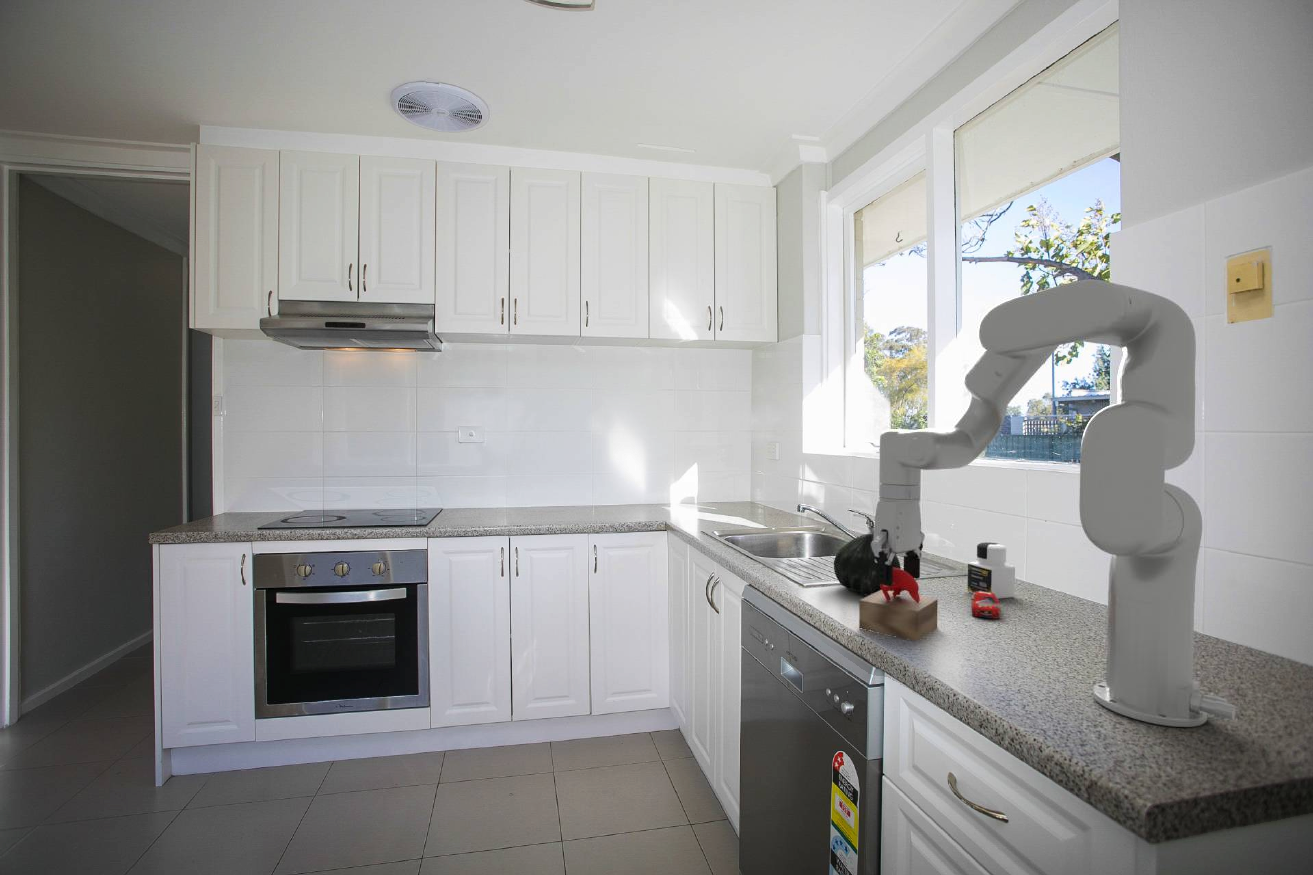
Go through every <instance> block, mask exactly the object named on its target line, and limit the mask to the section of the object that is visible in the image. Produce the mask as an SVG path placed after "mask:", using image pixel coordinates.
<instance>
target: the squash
mask: <svg viewBox="0 0 1313 875" xmlns="http://www.w3.org/2000/svg"><path fill="white" fill-rule="evenodd" d="M873 539H874V533H866V534H863V535H859V536H857V537H855V538H853V539H851V540H850V541H848V542H847V543H846V544H844V545H843V546H841V547H840V549H839V550H838V551H837V553H836V555H835V557H834V559H833V571H834V574H835V577H836V579H837V581H838V582H839V584H840V585H841V586H843V587H845V589H848V590H853V591H855V592H861V594H863V595H865V596H866V597H867V596H869V595H871V594H873V593H875V592H878V591H880V590H882V589H881V587H880V584H878V583H877V582H876V563H875V558H874V556H873V550H872V547H871V542H872V541H873ZM884 554H885V555H886V557H887V556H888V554H887V553H884ZM891 565H893V567H895V568H899V569H902V568H901V562H900V560H899V558H898V555H897V554H895V555H894V557H893V560H892V562H891ZM890 591H893V590H890Z"/></svg>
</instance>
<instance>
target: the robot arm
mask: <svg viewBox="0 0 1313 875" xmlns="http://www.w3.org/2000/svg"><path fill="white" fill-rule="evenodd" d="M977 328H978V329H977V339H978V341H979V344H980V345H981V347H982V348H984V350H983V351H982V352H981V353H980V355H979V356H978V357H977V359H976V360H975V361H973V363H972V364H971V366H970V367H969V368H968V369H967V370H966V372H965V373H964V374H963V377H962V382H963V384H964V387H965V389H966V390H967V391H968V392H969V394H970V401H969V404H968V407H967V408H966V410H965V411H964V413H963V414H962V415H961V417H960V418H959V419H957V421H956V422H955V424H954V425H953V426H952V427H951V428H922V429H886V430H884V431H882V432H881V434H880V437H879V471H878V472H879V473H878V474H879V475H878V477H879V482H878V483H879V485H878V486H879V487H878V489H879V490H878V491H879V492H878V501H877V504H876V509H875V515H874V527H873V534H874V539H873V541H872V542H871V547H872V550H873V556H874V558H875V563H876V582H877V583H878V584H882V585H887V586H892V585H893V565H891V562H892V560H893V557H894V555H895V554H896V555H897V554H901V553H904V554H905V555H904V556H903V570H904V571H906V572H907V573H909V574H910V575H911V576H912V577H913V578H914V579H915V580H916V579H917V580H918V579H920V578H921V558H922V550H923V549H924V541H925V536H926V534H925V533H924V532H922V516H921V515H922V514H921V506H920V502H921V486H922V485H921V481H922V480H921V479H922V478H921V477H922V473H921V470H922V471H934V470H936V471H937V470H938V471H939V470H951V469H960V468H964V467H967V466H968V465H970V464H971V463H972V462H974V460H977V459H978V457H979V456H980V455H981V454H982V453H983V452H984V451H985V450H986V449H987V448H988V446H990V444H991V443H992V442H993V441H994V440H995V439H996V437H997V436H998V434H999V432H1000V430H1001V428H1002V425H1003V424H1004V421H1005V418H1006V414H1007V411H1008V410H1007V409H1008V407H1009V404H1010V403H1011V401H1012V400H1013V399H1014V398H1015V396H1016V395H1018V394H1019V392H1020V391H1021V390H1022V388H1023V387H1025V385H1026V384H1027V383H1028V382H1029V381H1030V380H1031V378H1032V377H1033V376H1034V375H1035V374H1036V373H1037V371H1039V369H1041V367H1042V366H1043V365H1044V364H1045V363H1046V362H1047V361H1048V359H1049V358H1050V357H1051V356H1052V355H1053V354H1054V352H1055V351H1056V350H1057V349H1058V348H1059V346H1061V345H1067V344H1072V343H1077V342H1086V343H1090V344H1091V343H1092V344H1098V345H1108V346H1115V347H1118V348H1120V349H1121V350H1122V352H1123V355H1122V359H1121V361H1120V364H1119V369H1118V372H1117V395H1116V396H1117V399H1116V403H1115V404H1110V405H1108V406H1106V407H1104V408H1102V409H1101V410H1099V411H1098V412H1096V413H1095V414H1094V416H1092V417H1091V418H1090V420H1089V421H1088V423H1087V425H1086V426H1085V428H1084V431H1083V435H1082V438H1081V444H1080V445H1081V446H1080V465H1079V467H1080V468H1079V501H1078V502H1079V503H1078V504H1079V505H1078V506H1079V507H1078V508H1079V519H1080V525H1081V527H1082V530H1083V532H1084V534H1085V536H1086V537H1087V539H1088V541H1090V542H1091V543H1092V544H1093V546H1095V547H1096V548H1098V549H1100V550H1101V551H1102V552H1105V553H1107V554H1110V555H1111V557H1110V558H1111V559H1110V564H1109V570H1108V571H1109V572H1108V588H1107V627H1106V628H1107V629H1106V630H1107V632H1106V636H1107V637H1106V678H1105V680H1106V681H1102V682H1099V683H1095V685H1094V686H1093V688H1092V696H1093V698H1094V699H1095V701H1096V702H1097V703H1099V704H1100V705H1102V706H1103V707H1105V708H1106V709H1108V710H1110V711H1113V712H1114V713H1117V714H1120V715H1121V716H1125V717H1128V718H1131V719H1134V720H1138V721H1141V722H1146V723H1150V724H1154V725H1161V726H1167V727H1175V728H1176V727H1177V728H1178V727H1179V728H1193V727H1194V728H1195V727H1198V726H1202V725H1203V724H1205V723H1206V722H1207V720H1208V714H1211V715H1214V716H1215V717H1219V718H1222V719H1224V720H1225V719H1226V720H1229V721H1234V720H1235V717H1236V705H1234V704H1230V703H1228V700H1227V698H1223V697H1219V696H1216V695H1214V696H1213V695H1210V694H1209V695H1208V694H1206V693H1205V691H1203V690H1200V681H1198V680H1195V679H1194V678H1193V676H1194V675H1193V674H1194V636H1195V635H1194V634H1195V633H1194V631H1195V601H1196V600H1195V598H1196V579H1197V578H1196V575H1197V566H1198V559H1199V553H1200V552H1199V551H1200V548H1201V541H1202V534H1203V516H1202V513H1201V509H1200V507H1199V505H1198V504H1197V502H1196V501H1195V499H1194V498H1193V496H1192V495H1190V494H1189V493H1188V492H1187V491H1185V490H1184V489H1182V488H1181V487H1178V486H1177V485H1174V484H1171V483H1169V482H1165V481H1166V480H1165V475H1166V473H1165V472H1166V471H1169V470H1173V469H1176V468H1178V467H1180V466H1181V465H1184V463H1185V462H1187V461H1188V460H1189V458H1190V456H1191V455H1192V454H1193V451H1194V448H1195V444H1196V443H1195V442H1196V424H1195V423H1196V356H1197V352H1196V351H1197V342H1196V332H1195V327H1194V325H1193V322H1192V320H1191V319H1190V316H1189V315H1188V314H1187V313H1186V311H1185V310H1184V309H1183V308H1182V307H1181V306H1180V305H1179V304H1178V303H1176V302H1174V301H1172V300H1170V299H1168V298H1166V297H1164V296H1161V295H1159V294H1156V293H1153V292H1150V291H1146V290H1143V289H1139V288H1134V287H1132V286H1129V285H1124V284H1119V283H1114V282H1110V281H1107V280H1102V279H1101V280H1100V279H1081V280H1077V281H1076V280H1075V281H1072V282H1068V283H1064V284H1060V285H1057V286H1053V287H1050V288H1046V289H1043V290H1038V291H1035V292H1031V293H1028V294H1024V295H1020V296H1017V297H1013V298H1010V299H1007V300H1003V301H1001V302H1000V303H997V304H996V305H994V306H992V307H991V308H990V309H989V310H988V311H987V312H985V314H984V315H983V316H982V319H981V320H980V321H979V325H978V327H977ZM884 553H887V554H888V556H887V557H886V555H885V554H884Z"/></svg>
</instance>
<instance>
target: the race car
mask: <svg viewBox="0 0 1313 875" xmlns="http://www.w3.org/2000/svg"><path fill="white" fill-rule="evenodd" d="M970 600H971V615H972V616H973V617H980V618H985V619H995V620H996V619H998V620H999V619H1000V618H1001V616H1000V615H1001V614H1000V613H1001V609H1000V606H999V604H1000V603H1001V601H999V599H997V598H996V596H995V594H994V593H992V592H986V591H976V592H974V593H972V596H971V598H970Z"/></svg>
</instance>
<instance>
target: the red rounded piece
mask: <svg viewBox="0 0 1313 875" xmlns="http://www.w3.org/2000/svg"><path fill="white" fill-rule="evenodd" d="M880 587H881V589H882V592H883V594H884V595H885V597H886V599H887V600H890V599H891V598H890V595H889V594H888V592H887V591H890V590H893V591H894V592H893V593H892V594H893V596H896V595H900V593H903V591H906V592H907V593H908V594H910V595H911V597H912V598H913V599H914V600H915V601H916V602H919V601H920V597H919V596H920V593H919V590H920V588H919V587H920V586H919V584H918V582H917V580H916V578H913V577H912V576H911V575H910V574H909V573H907V572H906V571H904V569H902V568H901V569H899V568H895V567H893V585H892V586H887V585H882V584H880Z"/></svg>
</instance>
